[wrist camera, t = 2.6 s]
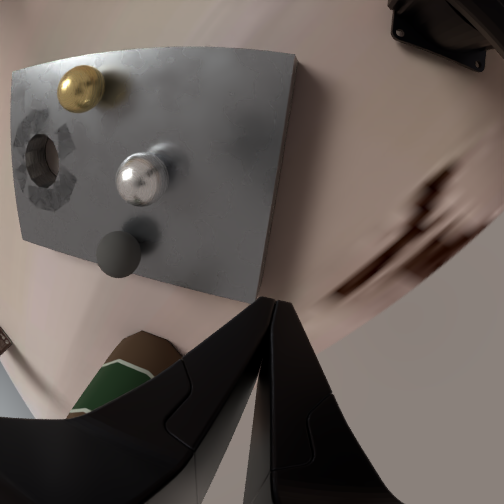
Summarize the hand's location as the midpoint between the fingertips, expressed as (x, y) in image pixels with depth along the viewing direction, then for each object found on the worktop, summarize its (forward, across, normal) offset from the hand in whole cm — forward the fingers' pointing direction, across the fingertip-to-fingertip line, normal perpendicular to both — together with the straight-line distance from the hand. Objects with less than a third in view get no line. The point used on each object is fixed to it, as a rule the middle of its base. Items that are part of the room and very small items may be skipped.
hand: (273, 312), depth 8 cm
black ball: (+9, +11, +6) cm, 15 cm away
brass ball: (+9, +14, -6) cm, 17 cm away
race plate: (+13, +13, 0) cm, 18 cm away
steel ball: (+9, +9, 0) cm, 13 cm away
